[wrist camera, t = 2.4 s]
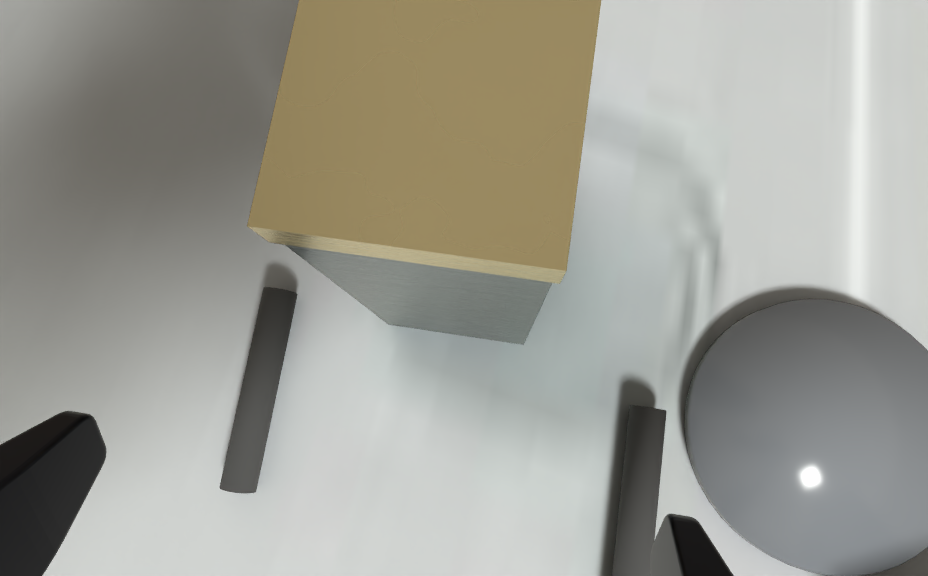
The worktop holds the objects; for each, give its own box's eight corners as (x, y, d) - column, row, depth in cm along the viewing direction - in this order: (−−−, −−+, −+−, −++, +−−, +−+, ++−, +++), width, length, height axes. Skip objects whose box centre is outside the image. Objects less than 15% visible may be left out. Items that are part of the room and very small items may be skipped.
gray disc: (740, 605, 20) (748, 610, 19) (648, 342, 22) (652, 340, 21) (1002, 527, 20) (1017, 531, 19) (889, 271, 22) (900, 267, 21)
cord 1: (640, 625, 20) (649, 638, 19) (603, 618, 20) (610, 631, 19) (661, 410, 21) (670, 411, 20) (626, 405, 21) (634, 405, 20)
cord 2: (261, 489, 21) (247, 494, 20) (228, 484, 22) (213, 488, 20) (301, 296, 23) (291, 290, 22) (270, 291, 23) (258, 285, 22)
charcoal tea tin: (526, 347, 22) (566, 271, 10) (385, 326, 22) (247, 225, 10) (544, 211, 23) (604, -22, 10) (409, 193, 23) (311, -53, 11)
